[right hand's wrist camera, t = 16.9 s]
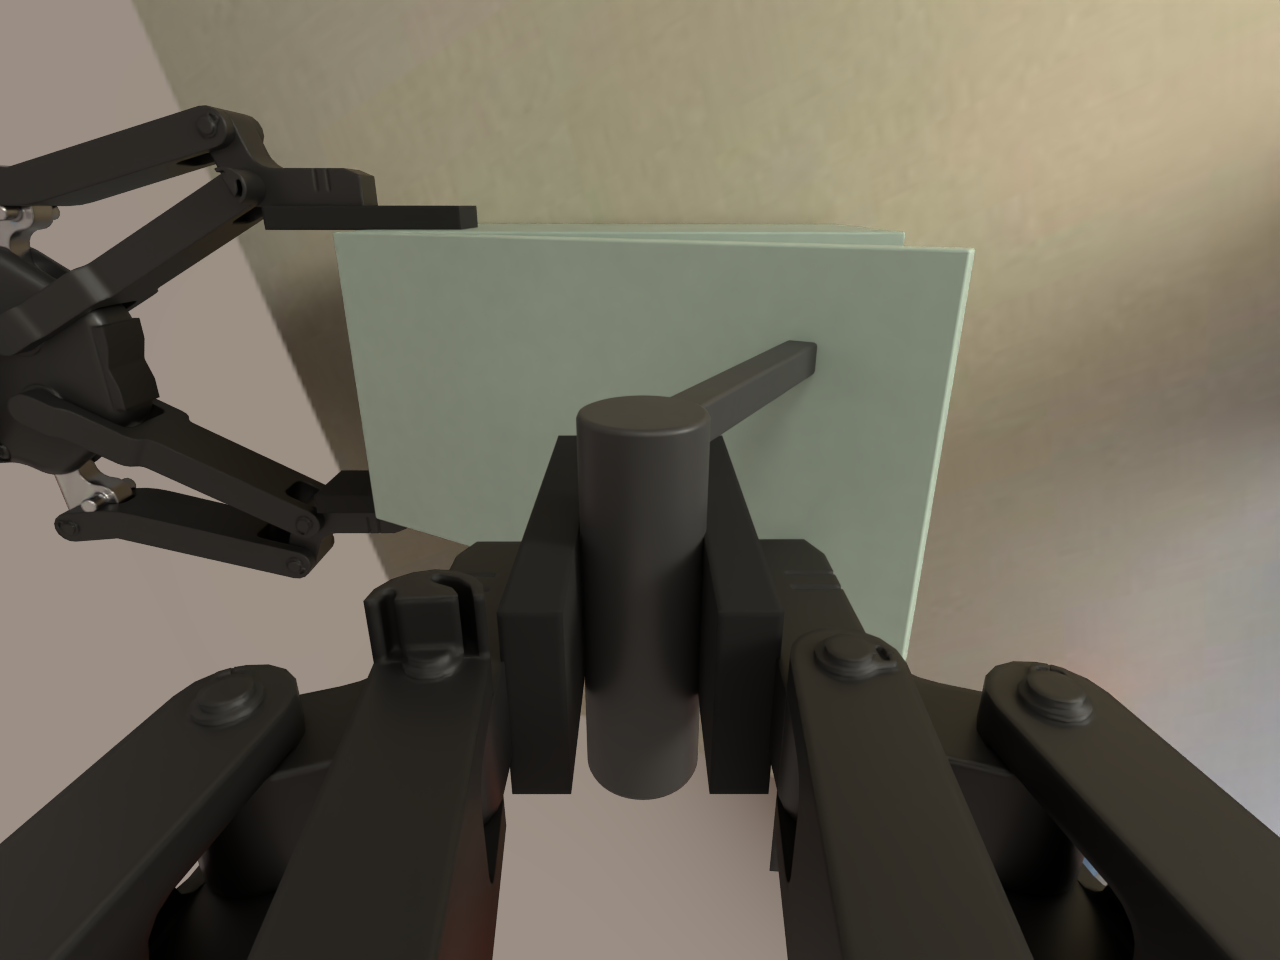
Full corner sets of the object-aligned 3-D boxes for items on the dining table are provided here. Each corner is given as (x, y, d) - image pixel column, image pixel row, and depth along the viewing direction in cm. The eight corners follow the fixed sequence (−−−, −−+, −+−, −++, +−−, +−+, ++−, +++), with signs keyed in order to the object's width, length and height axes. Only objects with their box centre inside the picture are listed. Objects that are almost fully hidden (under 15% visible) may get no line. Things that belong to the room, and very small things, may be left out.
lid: (975, 247, 14) (875, 293, 7) (906, 658, 17) (793, 973, 10) (354, 230, 22) (16, 243, 15) (393, 510, 25) (135, 626, 18)
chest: (835, 223, 30) (906, 232, 22) (815, 434, 34) (868, 516, 25) (439, 223, 31) (349, 231, 22) (460, 430, 34) (389, 509, 26)
